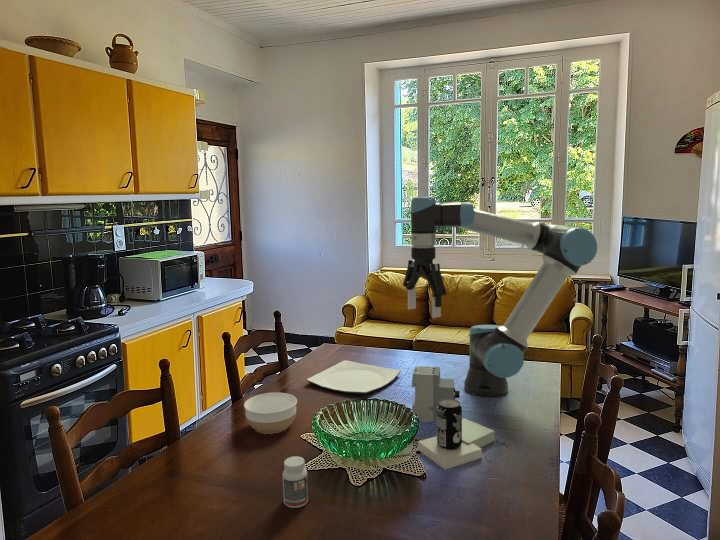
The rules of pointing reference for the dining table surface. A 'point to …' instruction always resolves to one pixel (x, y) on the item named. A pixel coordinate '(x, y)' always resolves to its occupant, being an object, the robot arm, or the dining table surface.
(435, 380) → the circuit breaker
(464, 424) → the stand
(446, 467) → the stand
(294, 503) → the pill bottle
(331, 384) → the plate
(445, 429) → the beverage can
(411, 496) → the dining table surface
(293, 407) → the bowl
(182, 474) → the dining table surface
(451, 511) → the dining table surface
